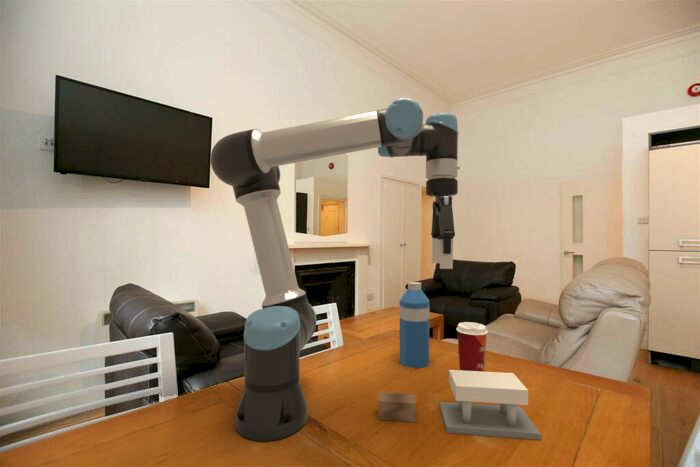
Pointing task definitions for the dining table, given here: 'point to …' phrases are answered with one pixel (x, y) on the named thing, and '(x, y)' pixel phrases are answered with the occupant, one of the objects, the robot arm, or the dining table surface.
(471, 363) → the coffee cup
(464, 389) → the shelf board
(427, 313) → the water bottle
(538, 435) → the peg stand
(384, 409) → the riser block
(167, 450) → the dining table surface
